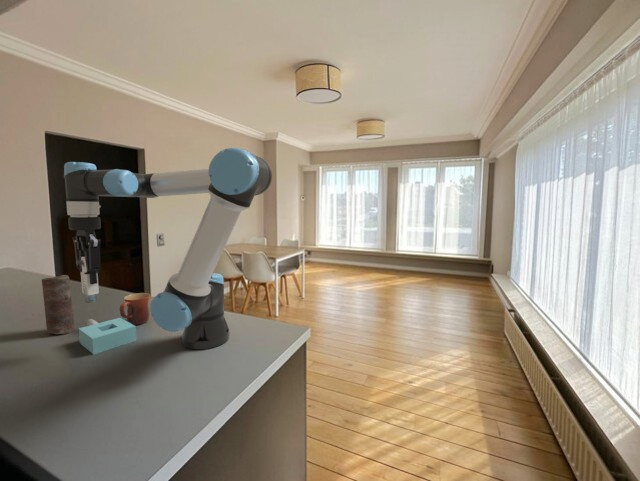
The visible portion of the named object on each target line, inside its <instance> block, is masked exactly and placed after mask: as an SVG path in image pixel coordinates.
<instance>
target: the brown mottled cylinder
mask: <svg viewBox="0 0 640 481" xmlns="http://www.w3.org/2000/svg"><path fill="white" fill-rule="evenodd" d="M70 280H71V279H70V277H69V275H67V274H63V275H59V276H53V277H45V278H42V279H41V285H42V286H41V287H42V296H43V305H44V314H45V326H46V332H47V333H49V334H53V335H54V334H55V335H67V334H70V333H71V332H73V331H74V330H75V329H76V326H75V324H76V323H75V317H74V308H73V300H72V290H71V281H70Z"/></svg>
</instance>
